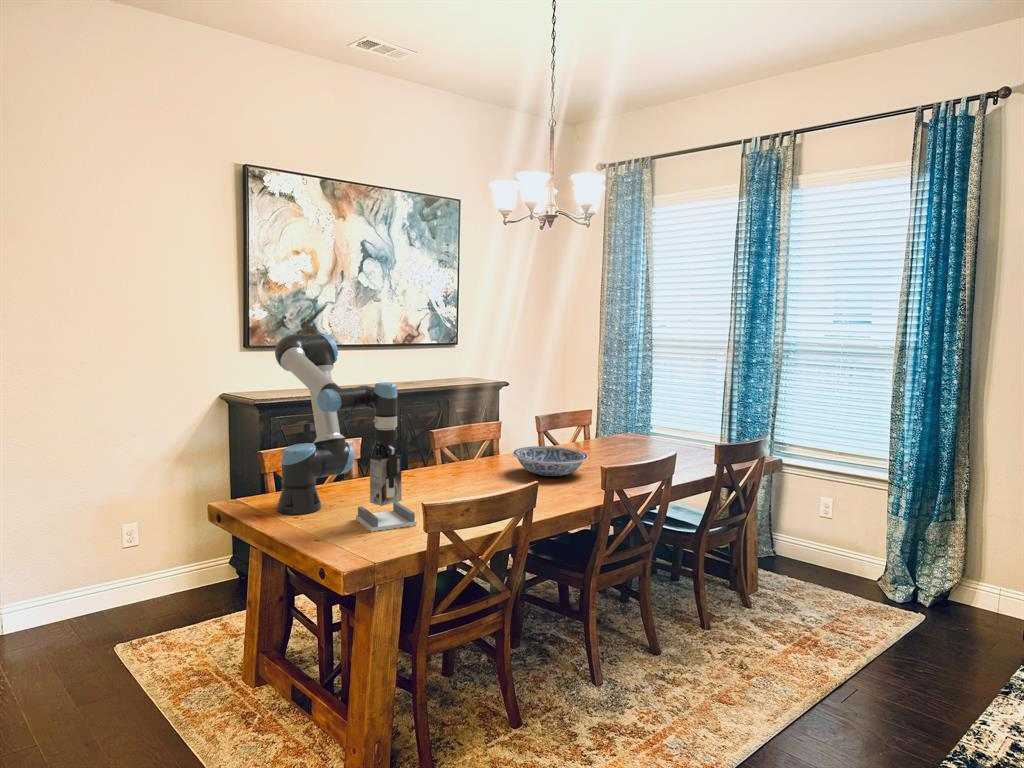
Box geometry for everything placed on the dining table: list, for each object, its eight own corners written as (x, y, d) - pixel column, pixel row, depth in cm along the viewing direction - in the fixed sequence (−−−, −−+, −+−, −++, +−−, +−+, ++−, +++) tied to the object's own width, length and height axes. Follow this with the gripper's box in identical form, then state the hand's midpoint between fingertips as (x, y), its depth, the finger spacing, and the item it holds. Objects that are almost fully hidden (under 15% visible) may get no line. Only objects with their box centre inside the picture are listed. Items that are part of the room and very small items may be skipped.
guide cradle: (355, 519, 246) (355, 507, 245) (399, 513, 254) (399, 501, 253) (371, 532, 232) (371, 518, 231) (416, 525, 240) (416, 512, 240)
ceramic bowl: (560, 487, 297) (561, 464, 296) (496, 475, 318) (497, 453, 317) (601, 473, 324) (602, 452, 323) (540, 463, 345) (540, 443, 344)
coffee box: (389, 497, 248) (389, 452, 246) (402, 501, 244) (402, 454, 242) (369, 502, 241) (369, 456, 239) (381, 506, 236) (381, 458, 235)
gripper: (365, 424, 247) (365, 488, 249) (386, 433, 229) (386, 502, 231) (385, 423, 250) (385, 486, 253) (407, 432, 233) (407, 499, 235)
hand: (385, 494), depth 242 cm, fingers closed on coffee box, 8 cm apart
